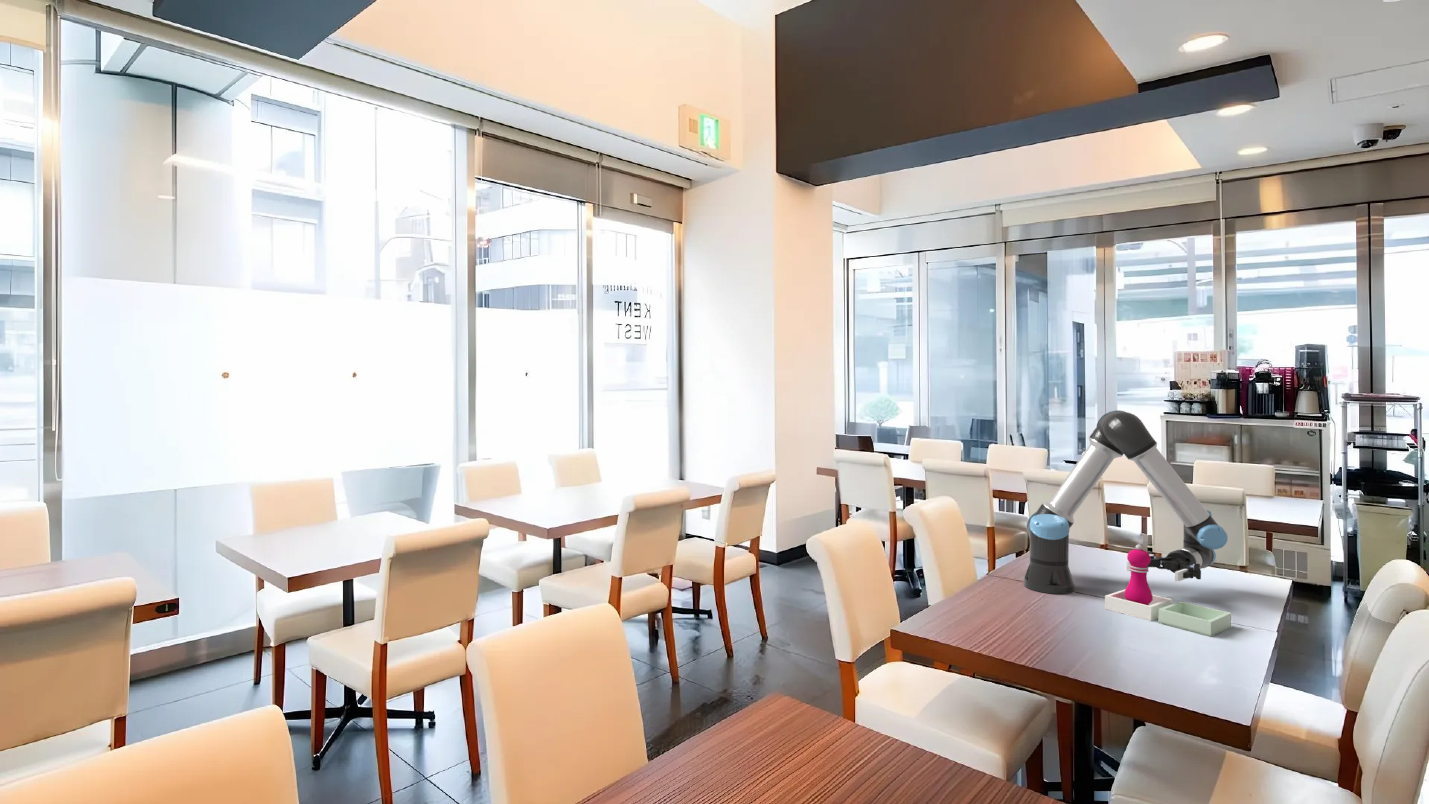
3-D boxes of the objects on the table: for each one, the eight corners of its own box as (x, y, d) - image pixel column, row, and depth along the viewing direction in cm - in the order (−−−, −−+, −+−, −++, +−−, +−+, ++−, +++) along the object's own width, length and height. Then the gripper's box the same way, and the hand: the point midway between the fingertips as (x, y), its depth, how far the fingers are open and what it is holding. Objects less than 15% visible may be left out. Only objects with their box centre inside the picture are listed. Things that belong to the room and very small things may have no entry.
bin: (1104, 608, 212) (1104, 595, 212) (1126, 601, 219) (1126, 588, 219) (1150, 621, 201) (1151, 607, 201) (1172, 612, 208) (1172, 599, 208)
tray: (1158, 623, 199) (1158, 609, 199) (1179, 614, 206) (1179, 600, 206) (1210, 636, 188) (1210, 622, 188) (1231, 627, 196) (1231, 613, 196)
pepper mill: (1156, 615, 206) (1157, 547, 205) (1129, 614, 207) (1130, 546, 207) (1146, 607, 213) (1147, 542, 212) (1120, 606, 214) (1121, 541, 214)
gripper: (1228, 582, 214) (1197, 594, 203) (1141, 564, 235) (1109, 574, 223) (1229, 557, 214) (1198, 568, 202) (1142, 542, 235) (1109, 551, 223)
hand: (1151, 571), depth 213 cm, fingers open, 13 cm apart
